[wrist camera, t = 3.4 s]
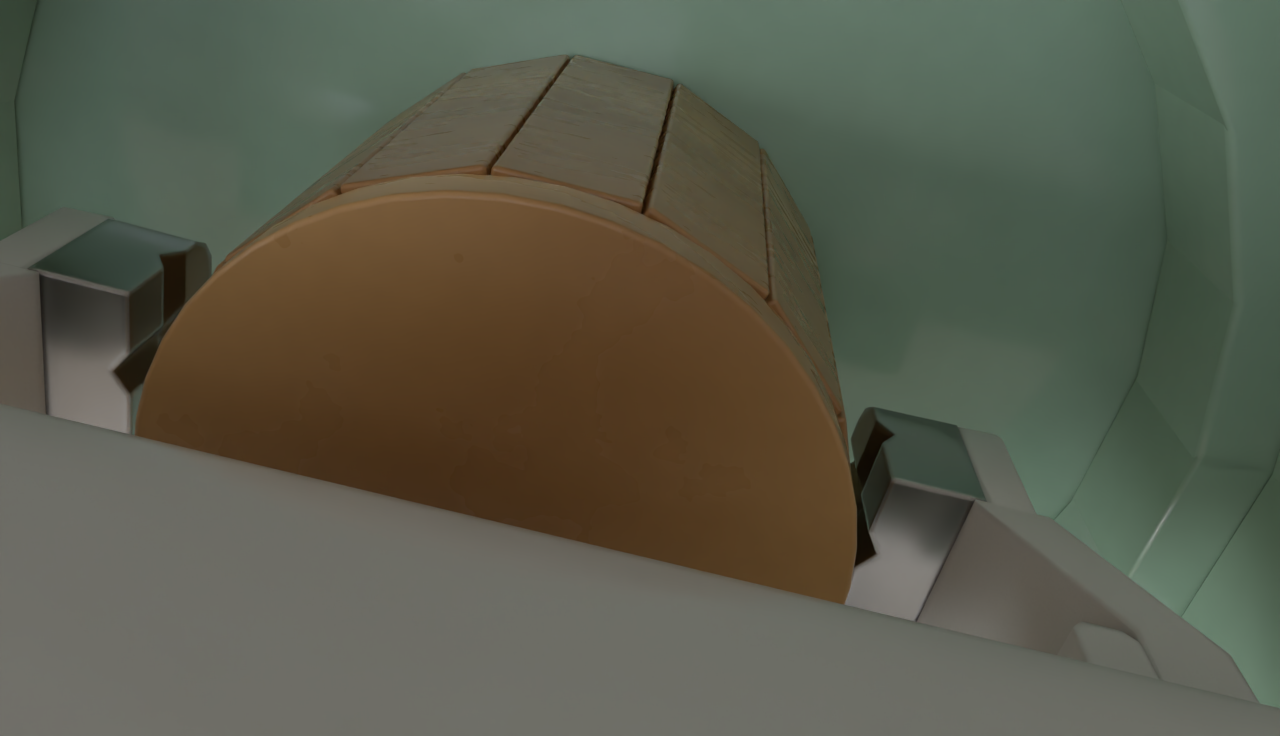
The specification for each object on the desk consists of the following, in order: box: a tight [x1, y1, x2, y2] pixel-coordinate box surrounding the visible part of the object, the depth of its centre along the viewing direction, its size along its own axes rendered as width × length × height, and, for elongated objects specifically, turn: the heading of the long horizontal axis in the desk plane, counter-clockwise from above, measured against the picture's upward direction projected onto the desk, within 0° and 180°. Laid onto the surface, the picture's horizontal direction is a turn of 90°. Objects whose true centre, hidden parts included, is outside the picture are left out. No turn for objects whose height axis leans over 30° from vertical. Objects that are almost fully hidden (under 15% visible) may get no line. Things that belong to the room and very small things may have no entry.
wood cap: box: [135, 54, 857, 605], centre depth 11 cm, size 6×6×5 cm
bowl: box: [0, 0, 1280, 708], centre depth 12 cm, size 17×17×4 cm
